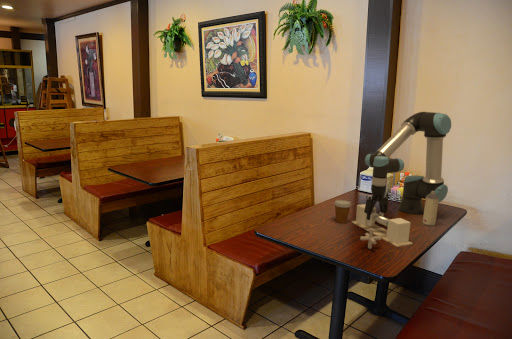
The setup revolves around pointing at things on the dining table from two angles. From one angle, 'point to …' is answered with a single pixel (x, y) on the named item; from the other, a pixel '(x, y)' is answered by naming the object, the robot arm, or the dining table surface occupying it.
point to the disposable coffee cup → (342, 210)
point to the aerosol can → (430, 209)
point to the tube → (380, 218)
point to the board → (381, 233)
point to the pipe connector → (370, 238)
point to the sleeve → (363, 215)
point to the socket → (398, 230)
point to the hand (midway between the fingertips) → (374, 224)
